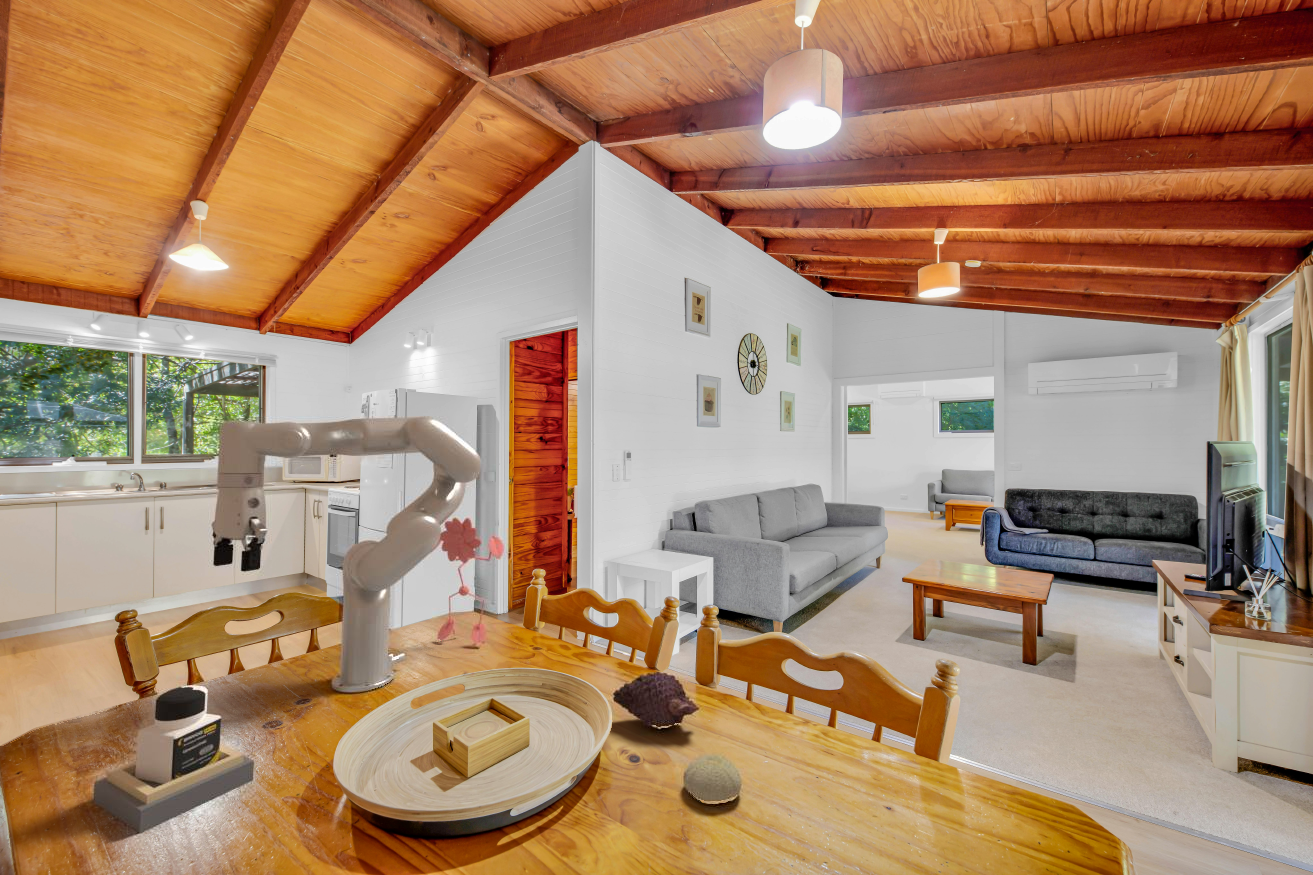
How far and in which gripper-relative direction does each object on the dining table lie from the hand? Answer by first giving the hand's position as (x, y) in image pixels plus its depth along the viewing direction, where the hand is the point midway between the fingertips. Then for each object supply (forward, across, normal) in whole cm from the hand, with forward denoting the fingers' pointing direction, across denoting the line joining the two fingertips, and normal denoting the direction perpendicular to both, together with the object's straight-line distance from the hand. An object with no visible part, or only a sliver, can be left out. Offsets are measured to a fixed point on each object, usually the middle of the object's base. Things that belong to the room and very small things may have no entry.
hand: (236, 567), depth 111 cm
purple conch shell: (+28, -77, -36) cm, 90 cm away
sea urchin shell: (+29, -94, -21) cm, 101 cm away
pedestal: (+28, -22, +18) cm, 40 cm away
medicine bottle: (+26, -22, +18) cm, 38 cm away
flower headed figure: (+28, -11, -48) cm, 57 cm away
